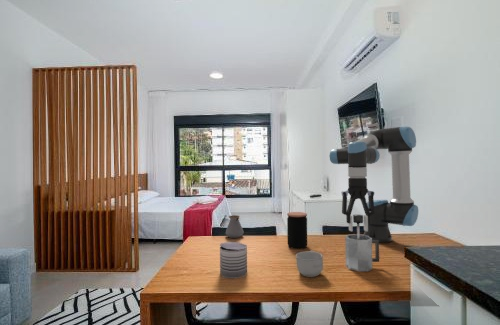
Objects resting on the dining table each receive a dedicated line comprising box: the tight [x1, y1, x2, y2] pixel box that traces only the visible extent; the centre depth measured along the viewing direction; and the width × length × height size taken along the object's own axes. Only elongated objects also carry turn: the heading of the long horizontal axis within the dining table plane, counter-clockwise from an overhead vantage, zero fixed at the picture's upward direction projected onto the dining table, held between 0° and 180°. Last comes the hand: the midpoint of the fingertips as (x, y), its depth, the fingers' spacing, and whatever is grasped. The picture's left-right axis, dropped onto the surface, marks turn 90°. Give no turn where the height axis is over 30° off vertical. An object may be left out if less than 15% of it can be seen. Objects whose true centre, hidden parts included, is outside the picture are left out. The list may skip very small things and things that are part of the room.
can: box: [219, 241, 248, 279], centre depth 117 cm, size 11×11×12 cm
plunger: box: [352, 213, 364, 240], centre depth 122 cm, size 8×8×20 cm
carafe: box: [344, 233, 380, 273], centre depth 122 cm, size 14×10×13 cm
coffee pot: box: [225, 214, 245, 239], centre depth 171 cm, size 21×12×15 cm, turn 12°
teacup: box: [295, 250, 324, 278], centre depth 116 cm, size 14×11×8 cm
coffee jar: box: [286, 211, 308, 250], centre depth 153 cm, size 11×11×18 cm
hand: (358, 230), depth 122 cm, fingers open, 6 cm apart
